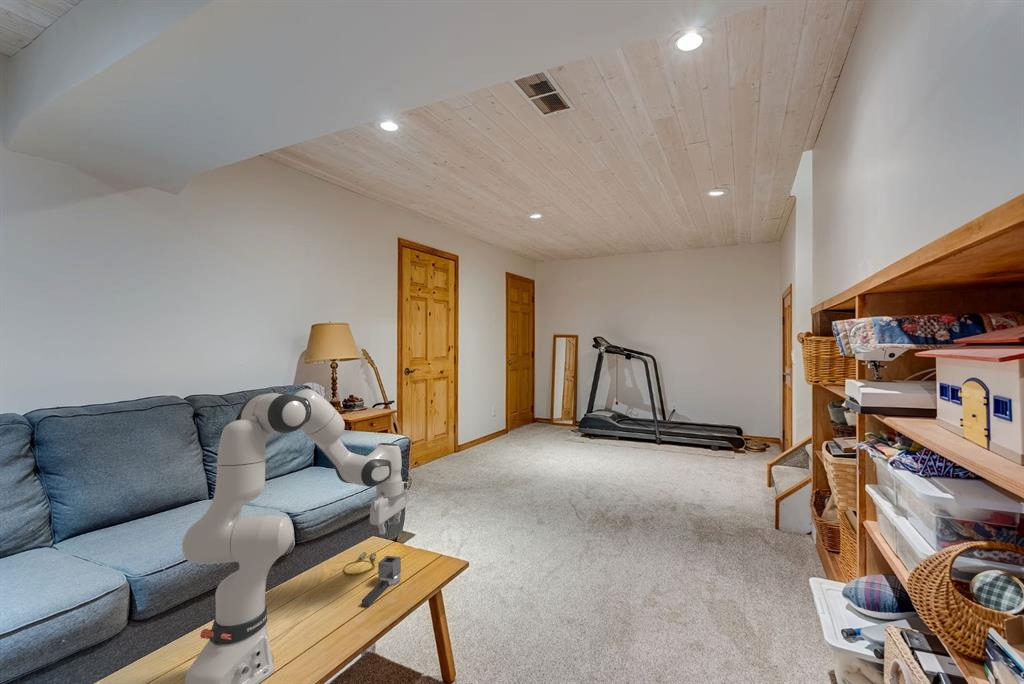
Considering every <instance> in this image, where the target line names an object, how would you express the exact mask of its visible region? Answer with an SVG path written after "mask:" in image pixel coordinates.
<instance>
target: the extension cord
mask: <svg viewBox="0 0 1024 684" xmlns="http://www.w3.org/2000/svg"><path fill="white" fill-rule="evenodd" d="M366 556H367V552H365V551H363V552H362V553H361V554H359V557H358V559H357V560H355V561H352V562H349V563H347V564H345V565H344V567H343V571H342V572H343V573H344V574H345V575H346V574H347V576H350V577H351V576H352V577H357V576H360V575H364V574H366V573H369V572H372V571H373V570H374V569H375V568H376V565H375V560H376V556H377V554H376V553H371V554H370V556H369V557H370V560H371V561H369V560H364V559H365V557H366ZM358 562H367V563H370V564H372V567H371V568H369V569H366V570H364V571H361V572H355V573H350V572H349V573H348V572H346V571H345V570H346V568H347V566H349V565H351V564H354V563H358ZM356 575H357V576H356Z"/></svg>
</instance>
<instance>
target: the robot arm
mask: <svg viewBox="0 0 1024 684" xmlns="http://www.w3.org/2000/svg"><path fill="white" fill-rule="evenodd" d="M345 427H346V423H345V421H344V419H343V416H342V415H341V414H340V412H338V410H337V409H336V408H335V407H334V406H333V405H332V404H331V403H330V402H329V401H328V400H327V398H325V397H323V396H322V395H321V394H319V393H318V392H317V391H315V390H313V389H309V388H306V389H302V390H299V391H297V392H296V393H295V394H293V393H292V394H290V393H277V392H273V393H264V394H263V393H262V394H261V393H260V394H256V395H253V396H251V397H248V398H247V399H246V400H244V402H243V403H242V404H241V406H240V408H239V410H238V414H237V416H236V417H235V420H234V421H231V422H230V423H228V424H226V425H225V426H224V428H223V429H222V432H221V434H220V435H221V436H220V439H219V445H218V451H217V458H216V459H217V460H216V476H215V477H216V480H215V487H214V488H215V490H214V495H213V498H212V501H211V503H210V506H209V507H208V509H207V510H206V512H204V514H203V516H201V518H199V519H198V520H197V521H195V523H193V524H192V525H191V526H190V527H189V528H188V530H187V531H186V533H185V534H184V536H183V538H182V543H181V549H182V554H183V556H184V557H185V559H186V561H188V562H190V563H196V564H205V565H206V564H207V565H215V564H227V563H238V565H239V569H238V570H236V571H235V572H232V573H230V574H229V575H228V576H226V577H225V578H224V579H222V580H221V582H220V583H219V584H218V586H217V588H216V590H215V593H214V594H215V597H214V598H215V600H214V601H215V618H214V620H213V623H212V627H211V628H210V629H209V628H203V629H202V630H201V631H200V635H199V636H200V638H201V639H206V640H208V641H207V642H206V644H205V645H204V647H203V648H202V650H201V651H200V652H199V654H198V655H197V656H196V658H195V660H194V661H193V663H192V664H191V665H190V666H189V668H188V669H187V671H186V673H185V676H184V681H183V684H260V683H262V682H263V681H265V680H266V679H267V678H269V677H271V675H273V674H274V672H275V666H274V664H273V661H274V656H273V653H272V650H271V646H270V640H269V639H270V638H269V635H268V634H269V633H268V630H267V629H268V628H267V622H268V606H267V604H266V585H267V578H268V574H269V572H270V570H271V568H272V566H273V565H274V564H275V562H276V561H277V560H278V559H280V557H281V556H283V555H284V554H285V553H286V552H287V551H288V550H289V548H290V546H291V544H292V543H293V540H294V535H295V531H294V530H295V529H294V525H293V523H292V521H291V519H290V518H289V517H288V516H285V515H279V514H270V513H267V514H253V515H252V514H251V515H242V509H243V506H244V505H246V504H247V503H248V504H249V503H250V502H251V501H253V500H255V499H256V498H258V497H259V496H260V495H261V494H262V493H263V491H264V489H265V487H266V457H267V456H266V455H267V454H266V453H267V452H266V448H267V447H266V446H267V442H268V439H269V437H270V436H271V434H289V433H293V432H295V431H297V430H301V431H302V432H303V433H304V434H305V435H306V436H307V438H309V439H310V440H311V441H312V442H313V443H315V445H316V446H317V448H319V450H320V451H321V452H322V453H323V454H324V456H325V457H326V458H327V459H328V460H329V462H330V463H331V464H332V466H333V468H334V470H335V473H336V476H337V478H338V479H339V480H340V481H341V482H342V483H346V484H354V485H358V486H363V487H366V488H367V487H368V488H372V487H375V492H376V493H375V496H374V499H373V501H372V502H371V505H370V511H369V523H370V525H373V526H377V529H378V530H379V532H378V533H379V535H381V536H382V535H385V534H386V533H387V528H386V527H385V522H387V521H388V520H390V518H392V517H393V516H394V517H393V519H392V521H393V522H392V524H393V525H399V523H400V520H401V515H402V510H403V509H405V508H406V507H407V505H408V501H409V500H408V499H409V498H408V497H409V493H408V492H409V491H408V488H409V482H408V481H403V478H402V474H401V473H402V468H403V467H402V465H403V463H402V451H401V448H400V446H399V445H398V444H396V443H392V442H380V443H378V444H377V446H376V447H375V449H374V450H373V451H372V452H370V453H369V454H367V455H363V454H358V453H354V452H351V451H349V450H348V449H347V448H346V445H344V444H343V442H342V441H341V440H340V438H341V437H342V435H343V433H344V431H345Z"/></svg>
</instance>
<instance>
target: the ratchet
mask: <svg viewBox="0 0 1024 684" xmlns="http://www.w3.org/2000/svg"><path fill="white" fill-rule="evenodd" d="M400 582H401V572H400V573H399V574H398V575H397V576H396V577H395V578H394V579H388V578H380V577H379V583H377V584H376V586H374V588H372V589H371V590H370V592H368V593H367V594H366V595H365V596H364V597H363V598H362V599H361V606H362V607H364V608H370V606H371V605H372V604H374V602H376V600H377V599H378V598H379V597H380V596H382V594H383V593H384V592H385V591H386V590H387V589H388V588H389V587H393V586H397V585H398V584H399V583H400Z"/></svg>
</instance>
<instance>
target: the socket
mask: <svg viewBox="0 0 1024 684" xmlns="http://www.w3.org/2000/svg"><path fill="white" fill-rule="evenodd" d="M377 563H378V564H377V565H378V566H377V567H378V568H377V569H378V570H377V571H378V572H377V573H378V574H377V575H378V578H379V579H380V578H388V579H394V578H395V577H396V576H397V575H398V574H399V573H400V574H401V571H402V559H401V556H393V555H391V556H390V555H385V556H384V557H383V558H382V559H381V560H380V561H379V562H377Z"/></svg>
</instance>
